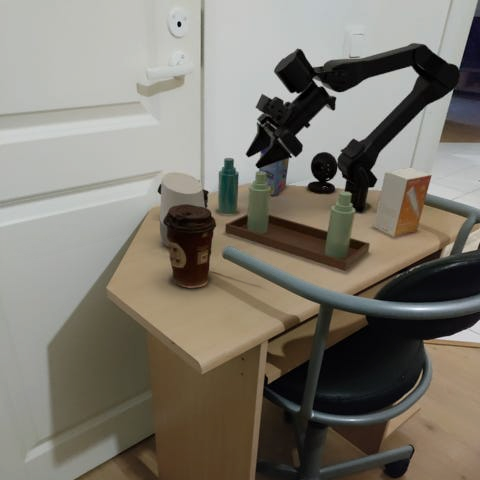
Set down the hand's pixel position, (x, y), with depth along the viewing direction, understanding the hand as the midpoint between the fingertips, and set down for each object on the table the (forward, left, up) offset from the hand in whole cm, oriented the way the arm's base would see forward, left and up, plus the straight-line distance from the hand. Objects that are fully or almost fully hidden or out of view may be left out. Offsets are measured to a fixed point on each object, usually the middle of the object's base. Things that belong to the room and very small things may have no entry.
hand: (251, 161), depth 110 cm
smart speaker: (+25, -1, -12) cm, 28 cm away
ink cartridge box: (-18, -3, -12) cm, 22 cm away
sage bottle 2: (+12, +27, -11) cm, 31 cm away
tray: (+11, +17, -12) cm, 24 cm away
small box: (-9, +33, -12) cm, 36 cm away
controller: (+15, -9, -12) cm, 21 cm away
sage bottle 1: (+10, +8, -11) cm, 17 cm away
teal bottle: (+4, -4, -12) cm, 13 cm away
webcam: (-26, +8, -12) cm, 30 cm away
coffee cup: (+37, +8, -12) cm, 39 cm away
